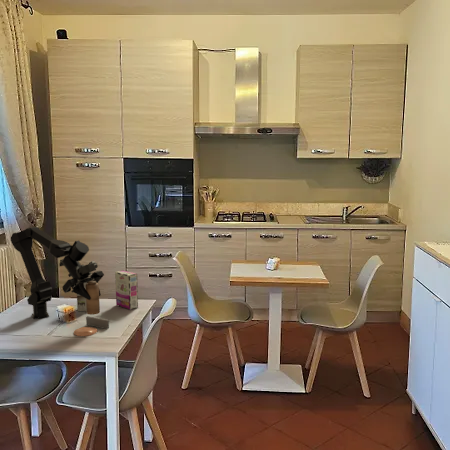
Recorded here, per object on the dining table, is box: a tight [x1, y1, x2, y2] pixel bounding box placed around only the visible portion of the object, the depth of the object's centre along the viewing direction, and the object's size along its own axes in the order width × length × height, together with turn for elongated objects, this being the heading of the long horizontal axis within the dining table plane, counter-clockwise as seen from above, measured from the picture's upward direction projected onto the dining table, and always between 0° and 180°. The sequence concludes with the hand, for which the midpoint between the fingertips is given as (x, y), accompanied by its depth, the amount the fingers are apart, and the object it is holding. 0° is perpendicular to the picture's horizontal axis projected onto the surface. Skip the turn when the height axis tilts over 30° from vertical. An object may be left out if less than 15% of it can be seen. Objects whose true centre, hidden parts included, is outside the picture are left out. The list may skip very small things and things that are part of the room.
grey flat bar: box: [85, 315, 110, 330], centre depth 201 cm, size 11×1×4 cm, turn 65°
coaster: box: [73, 326, 98, 337], centre depth 195 cm, size 9×9×1 cm
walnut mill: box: [86, 281, 101, 316], centre depth 197 cm, size 5×5×13 cm
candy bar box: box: [114, 270, 139, 311], centre depth 226 cm, size 11×5×16 cm, turn 48°
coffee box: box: [76, 272, 94, 312], centre depth 224 cm, size 9×6×16 cm
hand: (95, 297), depth 196 cm, fingers closed on walnut mill, 5 cm apart
